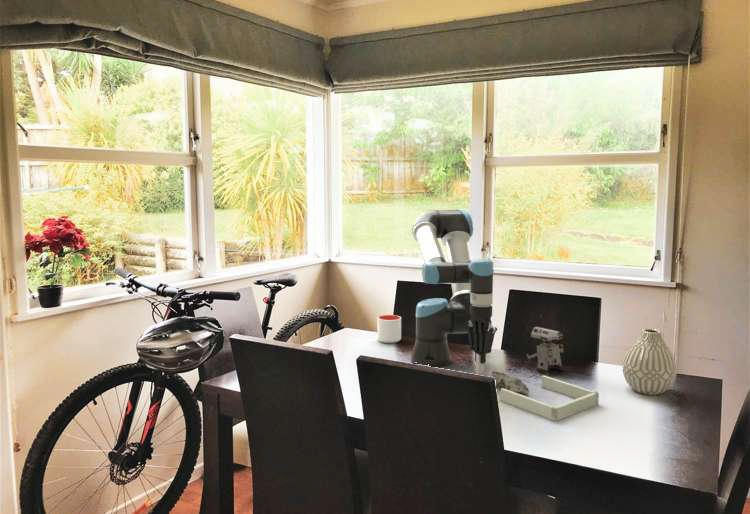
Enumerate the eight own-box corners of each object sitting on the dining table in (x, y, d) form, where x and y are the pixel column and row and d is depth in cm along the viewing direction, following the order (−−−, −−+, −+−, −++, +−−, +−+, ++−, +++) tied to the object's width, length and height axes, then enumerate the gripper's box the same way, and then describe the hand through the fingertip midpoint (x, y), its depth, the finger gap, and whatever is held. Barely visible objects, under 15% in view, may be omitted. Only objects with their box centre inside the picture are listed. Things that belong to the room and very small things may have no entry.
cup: (375, 343, 252) (375, 319, 250) (379, 337, 262) (379, 314, 260) (399, 344, 250) (399, 320, 249) (402, 337, 260) (402, 315, 259)
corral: (500, 400, 188) (500, 388, 187) (543, 385, 200) (543, 375, 200) (554, 421, 171) (555, 409, 171) (598, 404, 184) (598, 392, 184)
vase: (613, 391, 195) (616, 331, 193) (631, 378, 207) (635, 322, 204) (665, 403, 184) (669, 340, 182) (681, 390, 196) (685, 330, 193)
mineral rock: (532, 395, 192) (532, 382, 191) (509, 398, 190) (510, 384, 189) (510, 380, 206) (510, 368, 205) (488, 382, 204) (489, 370, 203)
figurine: (539, 363, 225) (541, 323, 223) (565, 371, 215) (567, 330, 213) (523, 367, 219) (524, 327, 217) (549, 376, 210) (550, 334, 208)
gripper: (459, 303, 208) (458, 369, 211) (487, 309, 198) (486, 378, 201) (475, 300, 213) (473, 365, 216) (503, 306, 203) (501, 374, 205)
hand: (479, 371), depth 208 cm, fingers closed
